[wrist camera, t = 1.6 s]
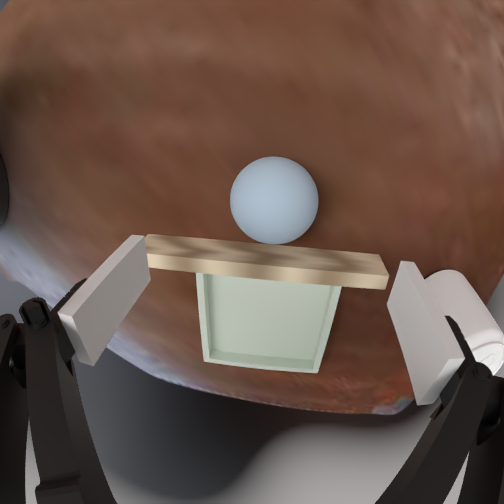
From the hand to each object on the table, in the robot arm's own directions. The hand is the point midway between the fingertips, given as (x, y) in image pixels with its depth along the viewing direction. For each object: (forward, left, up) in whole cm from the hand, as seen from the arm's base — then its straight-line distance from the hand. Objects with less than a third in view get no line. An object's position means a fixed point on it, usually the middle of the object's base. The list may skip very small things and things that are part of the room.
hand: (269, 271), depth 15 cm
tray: (0, -15, -14) cm, 20 cm away
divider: (-1, -6, -14) cm, 15 cm away
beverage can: (+20, -10, -14) cm, 26 cm away
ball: (0, 0, -14) cm, 14 cm away
